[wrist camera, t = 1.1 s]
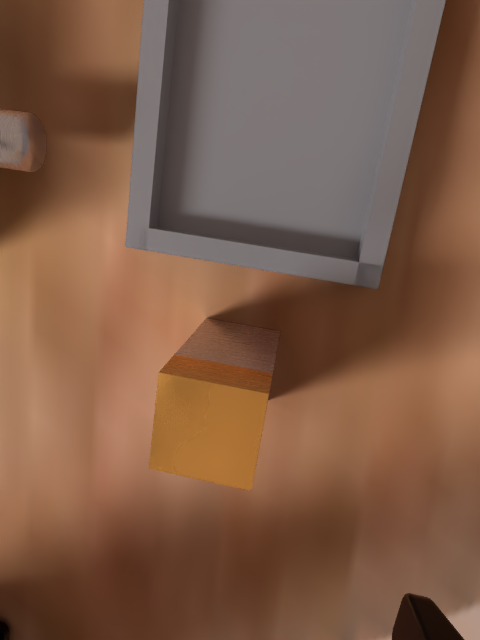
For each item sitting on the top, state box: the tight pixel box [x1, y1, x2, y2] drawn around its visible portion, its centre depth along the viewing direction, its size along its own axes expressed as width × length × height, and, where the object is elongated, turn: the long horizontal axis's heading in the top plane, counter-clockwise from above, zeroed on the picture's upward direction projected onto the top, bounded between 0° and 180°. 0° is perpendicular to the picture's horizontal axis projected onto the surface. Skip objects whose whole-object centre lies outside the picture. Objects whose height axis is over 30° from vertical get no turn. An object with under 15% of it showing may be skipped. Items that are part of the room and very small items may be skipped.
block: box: [149, 318, 280, 491], centre depth 15 cm, size 3×3×6 cm
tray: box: [126, 0, 446, 289], centre depth 15 cm, size 11×9×1 cm
